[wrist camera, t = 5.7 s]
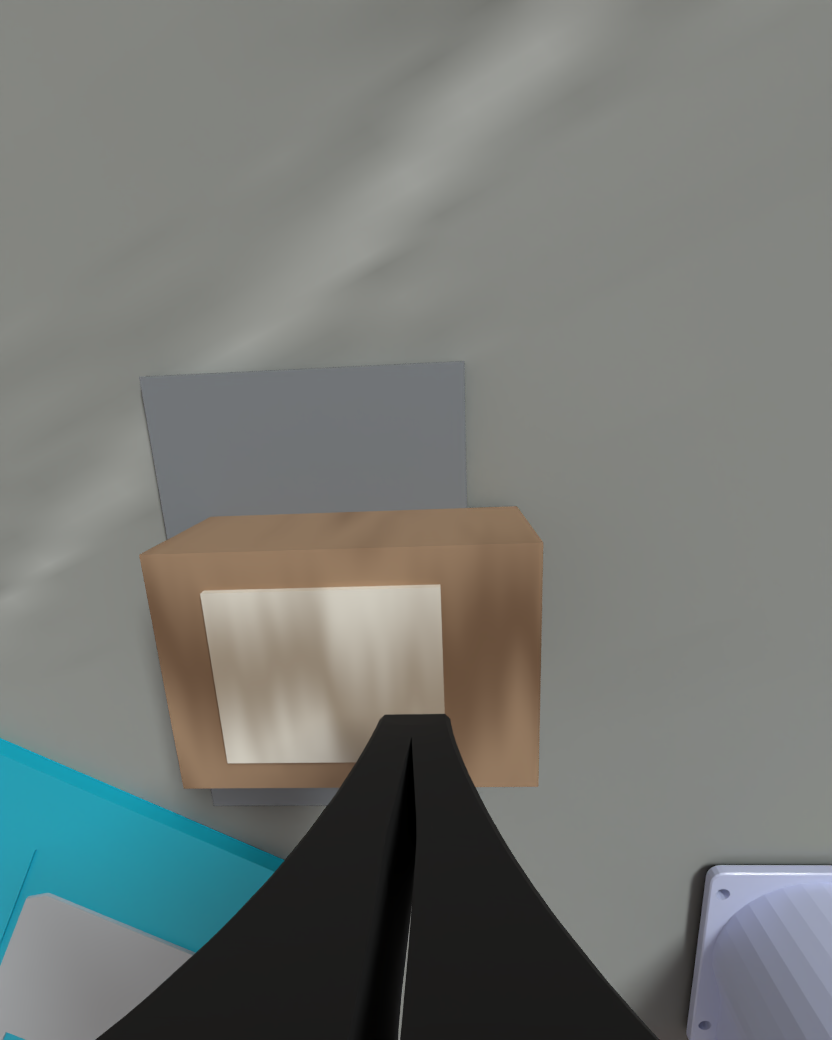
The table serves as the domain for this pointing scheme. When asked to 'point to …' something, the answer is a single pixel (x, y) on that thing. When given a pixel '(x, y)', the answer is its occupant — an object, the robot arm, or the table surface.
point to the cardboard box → (347, 640)
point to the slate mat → (306, 457)
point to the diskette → (102, 897)
